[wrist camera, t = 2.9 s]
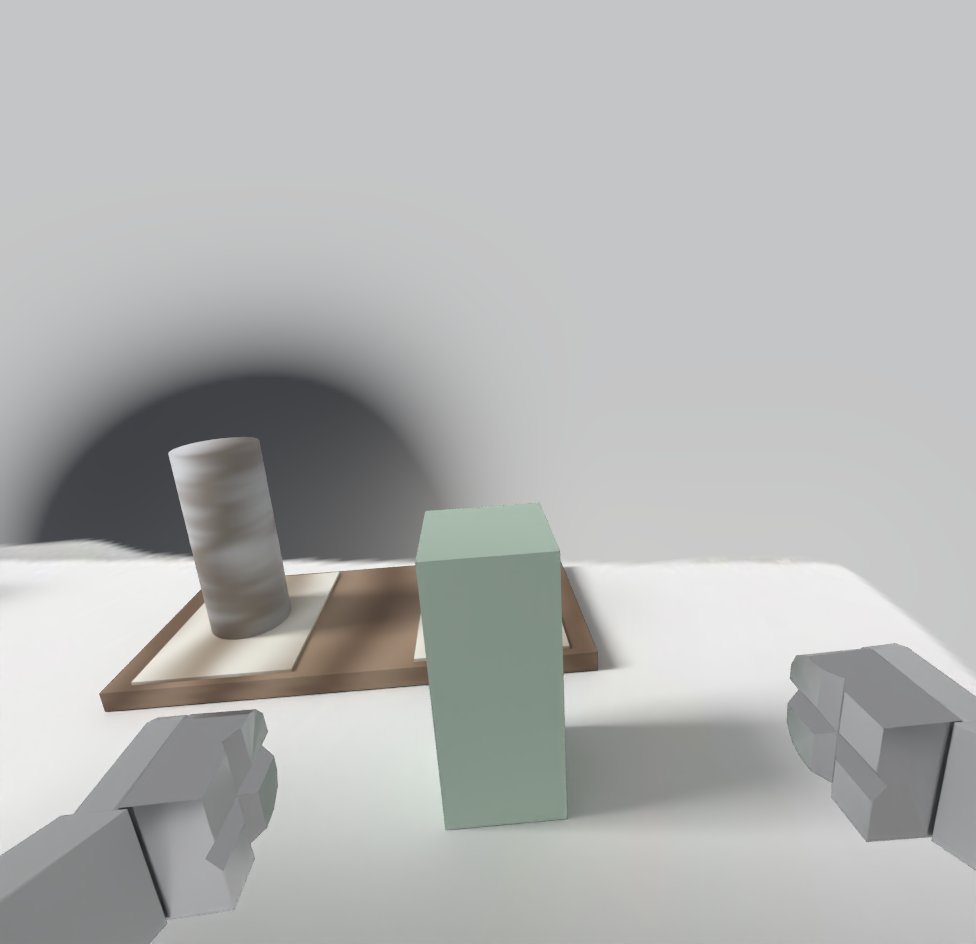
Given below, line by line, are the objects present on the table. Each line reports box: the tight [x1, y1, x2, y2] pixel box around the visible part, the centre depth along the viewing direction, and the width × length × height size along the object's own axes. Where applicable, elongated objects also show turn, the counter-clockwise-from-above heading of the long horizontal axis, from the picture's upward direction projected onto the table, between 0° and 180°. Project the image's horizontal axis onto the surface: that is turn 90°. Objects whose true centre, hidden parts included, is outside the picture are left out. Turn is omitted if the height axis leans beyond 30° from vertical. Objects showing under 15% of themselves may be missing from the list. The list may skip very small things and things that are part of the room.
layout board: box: [99, 437, 598, 712], centre depth 34 cm, size 28×13×13 cm, turn 93°
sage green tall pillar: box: [415, 503, 567, 830], centre depth 22 cm, size 5×5×12 cm
